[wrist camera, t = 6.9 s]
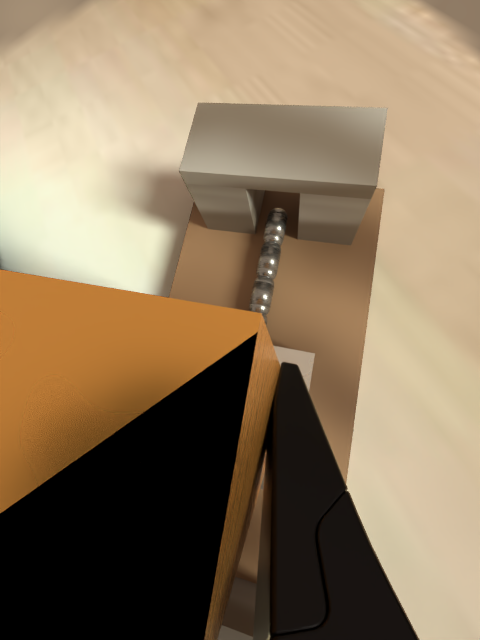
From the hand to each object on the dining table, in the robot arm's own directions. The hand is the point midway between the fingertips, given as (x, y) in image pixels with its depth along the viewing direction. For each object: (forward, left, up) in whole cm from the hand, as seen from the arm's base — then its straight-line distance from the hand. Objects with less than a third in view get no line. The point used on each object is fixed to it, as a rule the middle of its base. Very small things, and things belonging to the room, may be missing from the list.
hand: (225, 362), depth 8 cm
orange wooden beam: (+1, +1, -5) cm, 5 cm away
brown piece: (0, 0, -7) cm, 7 cm away
